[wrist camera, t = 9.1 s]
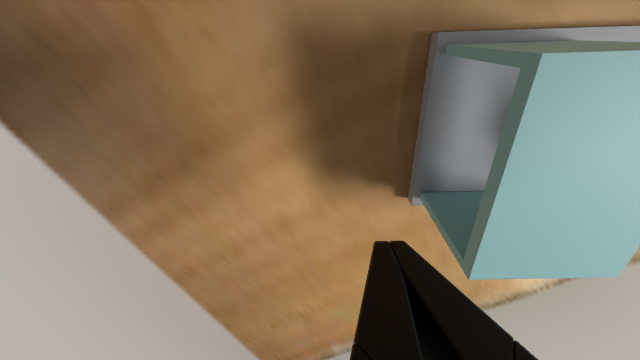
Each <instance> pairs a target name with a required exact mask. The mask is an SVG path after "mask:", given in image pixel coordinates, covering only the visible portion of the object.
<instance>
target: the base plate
mask: <svg viewBox="0 0 640 360" xmlns="http://www.w3.org/2000/svg"><path fill="white" fill-rule="evenodd" d="M575 40H582V41H617V42H640V26H610V27H579V28H548V29H517V30H486V31H455V32H432V35H431V42H430V49H429V56H428V62H427V69H426V76H425V83H424V90H423V97H422V103H421V110H420V117H419V124H418V131H417V138H416V144H415V151H414V158H413V165H412V172H411V179H410V185H409V192H408V199H409V201H410V203H411V205H424V204H423V203H422V201H421V199H420V197H421V193H432V192H475V191H484V189H485V186H486V182H487V179H488V176H489V172H490V169H491V166H492V162H493V159H494V155H495V152H496V149H497V145H498V142H499V139H500V135H501V132H502V129H503V125H504V122H505V119H506V115H507V112H508V109H509V105H510V102H511V99H512V95H513V92H514V88H515V85H516V82H517V78H518V75H519V72H520V68H518V67H512V66H506V65H501V64H495V63H489V62H483V61H478V60H472V59H466V58H461V57H455V56H449V55H445V52H446V46H447V45H449V44H480V43H512V42H544V41H575Z"/></svg>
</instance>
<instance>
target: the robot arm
mask: <svg viewBox="0 0 640 360" xmlns="http://www.w3.org/2000/svg"><path fill="white" fill-rule="evenodd" d="M350 360H538V359H537V358H535V357H534V356H533V355H532V354H531V353H530V352H529V351H528V350H526V349H525V348H524V347H523V346H522V345H521V344H520V343H519V342H517V341H514V340H513V337H512V336H511V335H509V334H508V333H507V332H506V331H505V330H504V329H503V328H501V327H500V326H499V325H498V324H497V323H496V322H495V321H494V320H492V319H491V318H490V317H489V316H488V315H487V314H486V313H485V312H483V311H482V310H481V309H480V308H479V307H478V306H477V305H476V304H474V303H473V302H472V301H471V300H470V299H469V298H468V297H466V296H465V295H464V294H463V293H462V292H461V291H460V290H459V289H457V288H456V287H455V286H454V285H453V284H452V283H451V282H450V281H448V280H447V279H446V278H445V277H444V276H443V275H442V274H441V273H439V272H438V271H437V270H436V269H435V268H434V267H433V266H431V265H430V264H429V263H428V262H427V261H426V260H425V259H424V258H422V257H421V256H420V255H419V254H418V253H417V252H416V251H415V250H413V249H412V248H411V247H410V246H409V245H408V244H407V243H405V242H404V241H390V242H388V241H376V242H374V246H373V250H372V255H371V260H370V265H369V270H368V275H367V280H366V284H365V289H364V294H363V299H362V304H361V309H360V313H359V318H358V323H357V328H356V333H355V338H354V344H353V346H352V351H351V356H350Z"/></svg>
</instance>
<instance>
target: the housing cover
mask: <svg viewBox="0 0 640 360" xmlns="http://www.w3.org/2000/svg"><path fill="white" fill-rule="evenodd" d="M445 55H449V56H455V57H461V58H466V59H472V60H478V61H483V62H489V63H495V64H501V65H506V66H512V67H518V68H520V72H519V75H518V78H517V82H516V85H515V88H514V92H513V95H512V99H511V102H510V105H509V109H508V112H507V115H506V119H505V122H504V125H503V129H502V132H501V135H500V139H499V142H498V145H497V149H496V152H495V155H494V159H493V162H492V166H491V169H490V172H489V176H488V179H487V182H486V186H485V189H484V191H475V192H432V193H421V197H420V199H421V201H422V203H423V204H424V206H425V208H426V209H427V211H428V213H429V214H430V216H431V218H432V219H433V221H434V223H435V224H436V226H437V228H438V229H439V231H440V233H441V234H442V236H443V238H444V239H445V241H446V243H447V244H448V246H449V248H450V249H451V251H452V253H453V254H454V256H455V258H456V259H457V261H458V263H459V264H460V266H461V268H462V269H463V271H464V273H465V274H466V276H467V278H468V279H469V280H483V279H538V278H592V277H618V276H619V275H620V274H621V272H622V271H623V269H624V268H625V266H626V265H627V263H628V262H629V261H630V259H631V258H632V256H633V255H634V253H635V252H636V250H637V249H638V248H639V246H640V42H617V41H582V40H575V41H544V42H512V43H480V44H449V45H447V46H446V52H445Z"/></svg>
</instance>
